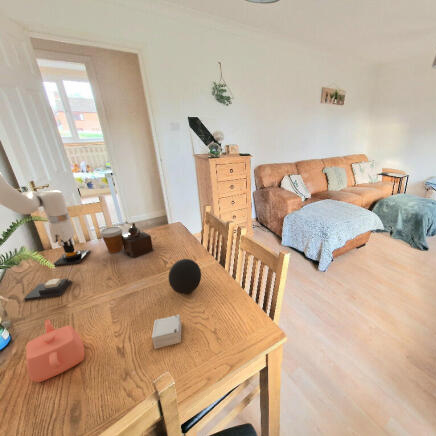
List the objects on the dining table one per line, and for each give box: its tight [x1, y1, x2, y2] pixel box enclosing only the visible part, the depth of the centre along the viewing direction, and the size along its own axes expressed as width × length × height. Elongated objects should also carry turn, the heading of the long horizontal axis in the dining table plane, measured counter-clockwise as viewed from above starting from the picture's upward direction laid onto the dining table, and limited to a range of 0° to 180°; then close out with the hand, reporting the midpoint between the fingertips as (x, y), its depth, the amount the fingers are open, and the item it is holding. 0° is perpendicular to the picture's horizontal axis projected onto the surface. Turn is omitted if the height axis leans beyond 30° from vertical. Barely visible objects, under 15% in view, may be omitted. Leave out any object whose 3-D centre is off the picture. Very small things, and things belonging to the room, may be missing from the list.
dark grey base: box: [23, 278, 72, 302], centre depth 96 cm, size 11×9×3 cm
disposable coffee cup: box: [99, 226, 124, 254], centre depth 126 cm, size 10×10×12 cm
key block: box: [53, 249, 91, 267], centre depth 118 cm, size 10×12×3 cm
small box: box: [151, 314, 182, 350], centre depth 79 cm, size 8×8×5 cm
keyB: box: [64, 249, 77, 256], centre depth 118 cm, size 4×4×2 cm
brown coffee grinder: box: [121, 222, 154, 259], centre depth 123 cm, size 16×11×18 cm
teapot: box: [25, 319, 85, 383], centre depth 68 cm, size 12×18×10 cm, turn 46°
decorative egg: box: [168, 258, 202, 295], centre depth 98 cm, size 12×12×15 cm
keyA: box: [44, 278, 62, 288], centre depth 96 cm, size 4×4×2 cm
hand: (70, 251), depth 117 cm, fingers closed
